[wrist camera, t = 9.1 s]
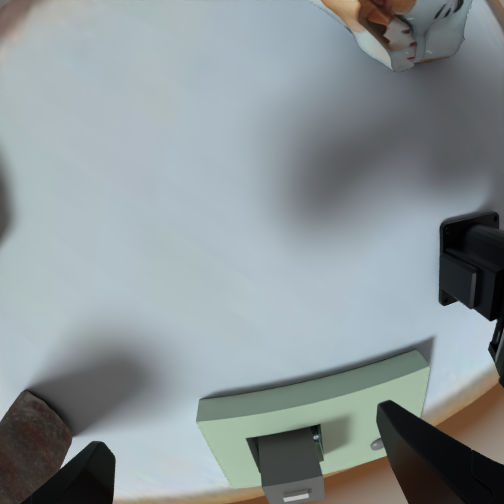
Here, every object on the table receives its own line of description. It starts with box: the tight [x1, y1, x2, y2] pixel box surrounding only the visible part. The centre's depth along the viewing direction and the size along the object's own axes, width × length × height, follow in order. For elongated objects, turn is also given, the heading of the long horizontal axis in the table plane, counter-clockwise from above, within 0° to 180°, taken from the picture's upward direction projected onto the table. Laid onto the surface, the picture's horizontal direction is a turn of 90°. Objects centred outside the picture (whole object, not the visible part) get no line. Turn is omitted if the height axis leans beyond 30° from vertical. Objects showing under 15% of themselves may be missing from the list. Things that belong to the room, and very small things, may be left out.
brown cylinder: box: [0, 391, 72, 504], centre depth 13 cm, size 8×7×20 cm
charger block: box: [258, 426, 325, 504], centre depth 20 cm, size 4×4×7 cm
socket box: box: [196, 349, 430, 489], centre depth 22 cm, size 18×11×3 cm, turn 102°
